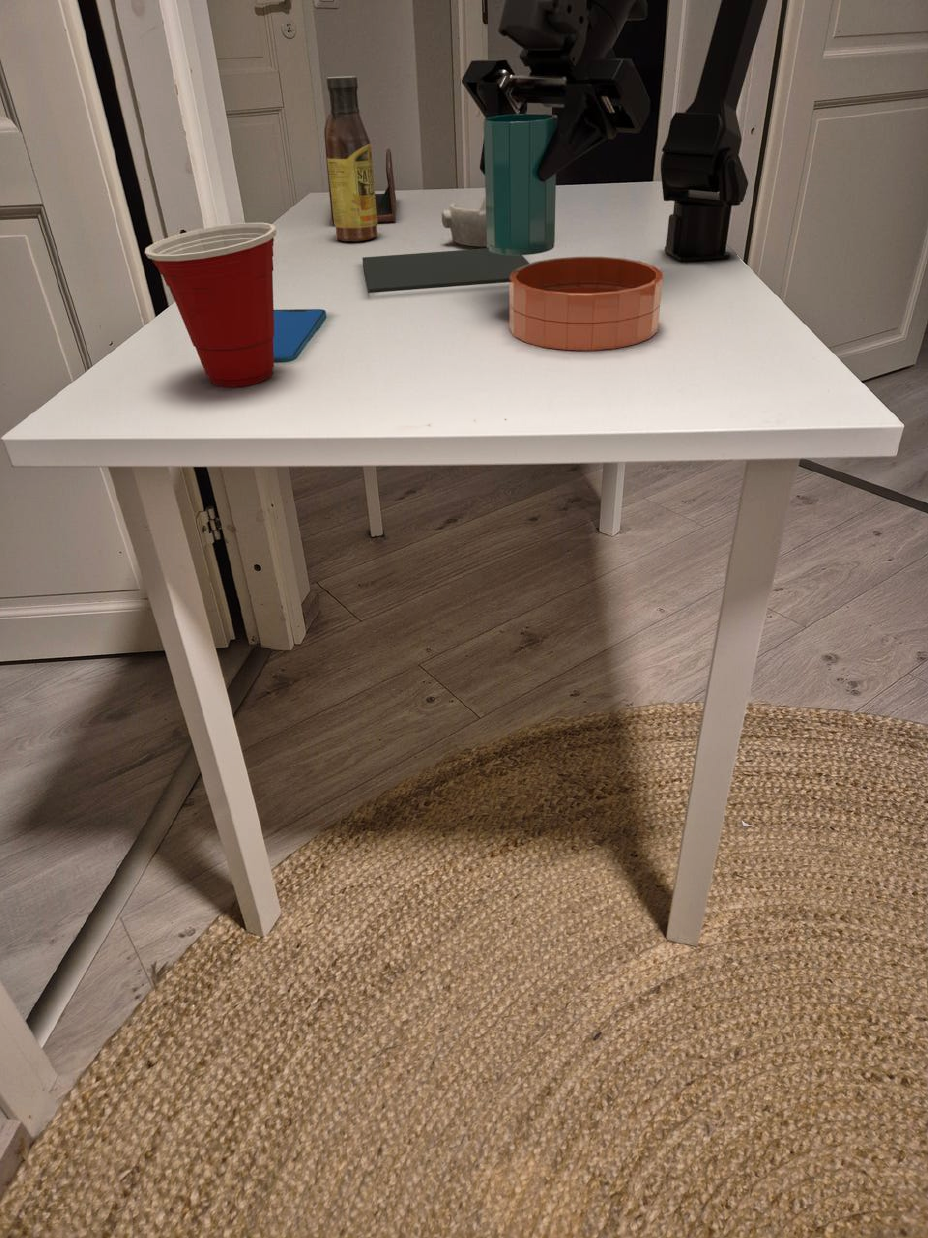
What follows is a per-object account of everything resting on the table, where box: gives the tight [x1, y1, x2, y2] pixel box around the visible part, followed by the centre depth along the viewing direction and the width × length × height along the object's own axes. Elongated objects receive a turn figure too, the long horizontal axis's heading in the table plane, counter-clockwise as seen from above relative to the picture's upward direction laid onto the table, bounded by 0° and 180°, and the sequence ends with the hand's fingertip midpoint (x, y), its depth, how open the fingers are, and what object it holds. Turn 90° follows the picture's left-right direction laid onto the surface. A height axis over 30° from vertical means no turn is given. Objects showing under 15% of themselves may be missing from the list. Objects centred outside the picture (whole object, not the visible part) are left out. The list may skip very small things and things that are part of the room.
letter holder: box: [323, 113, 397, 227], centre depth 133 cm, size 10×20×14 cm, turn 4°
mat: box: [361, 247, 530, 298], centre depth 101 cm, size 20×16×1 cm
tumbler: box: [483, 113, 558, 256], centre depth 78 cm, size 7×7×11 cm
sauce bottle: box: [326, 75, 378, 242], centre depth 115 cm, size 6×6×20 cm
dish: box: [441, 195, 487, 248], centre depth 115 cm, size 14×14×5 cm
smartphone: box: [273, 308, 328, 363], centre depth 84 cm, size 7×1×15 cm
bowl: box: [508, 256, 664, 352], centre depth 79 cm, size 14×14×6 cm
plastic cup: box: [144, 222, 277, 388], centre depth 71 cm, size 11×11×12 cm
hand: (510, 175), depth 77 cm, fingers closed on tumbler, 7 cm apart
